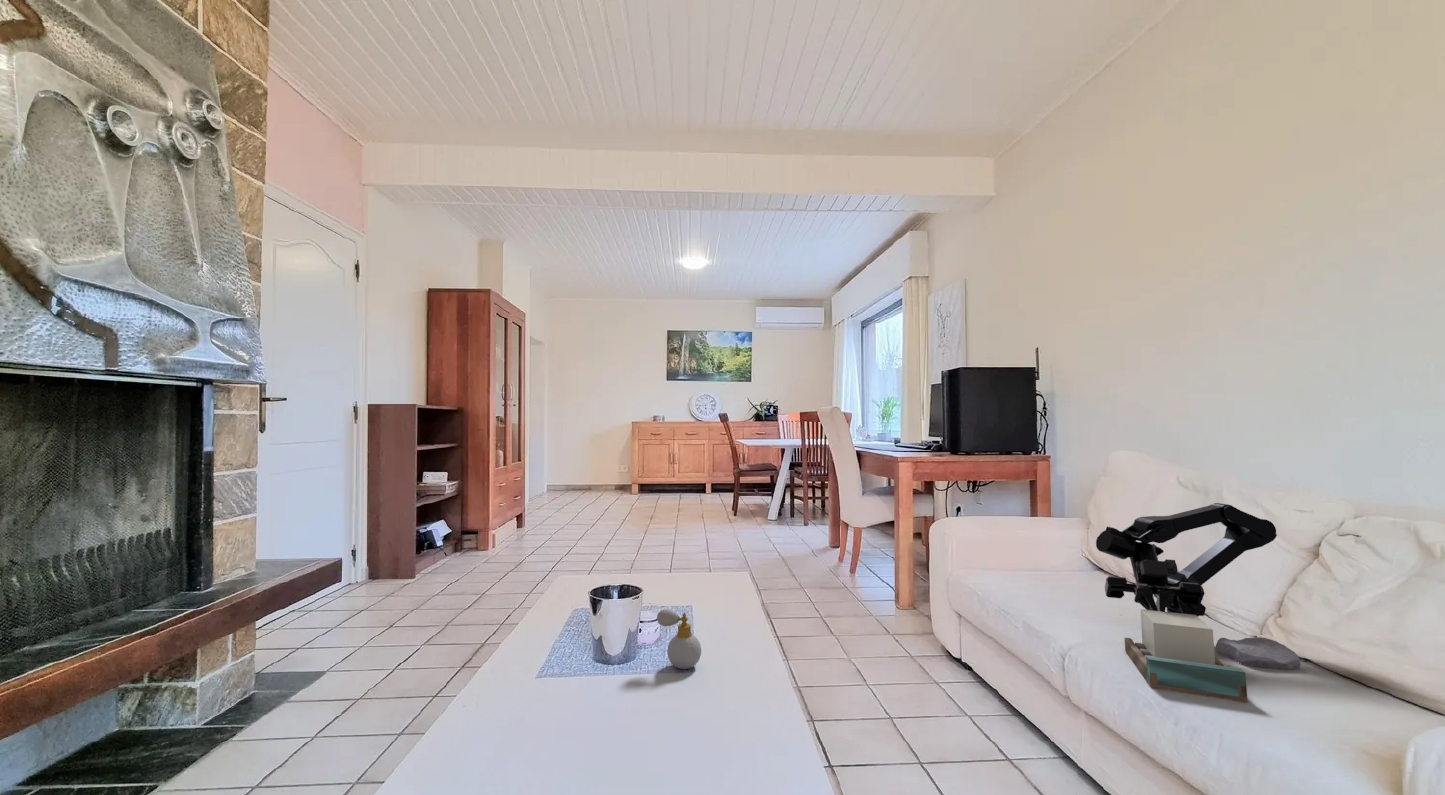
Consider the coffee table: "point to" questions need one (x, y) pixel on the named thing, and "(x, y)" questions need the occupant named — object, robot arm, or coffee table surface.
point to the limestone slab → (1177, 636)
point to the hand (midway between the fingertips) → (1161, 623)
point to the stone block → (1259, 652)
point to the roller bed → (1188, 675)
